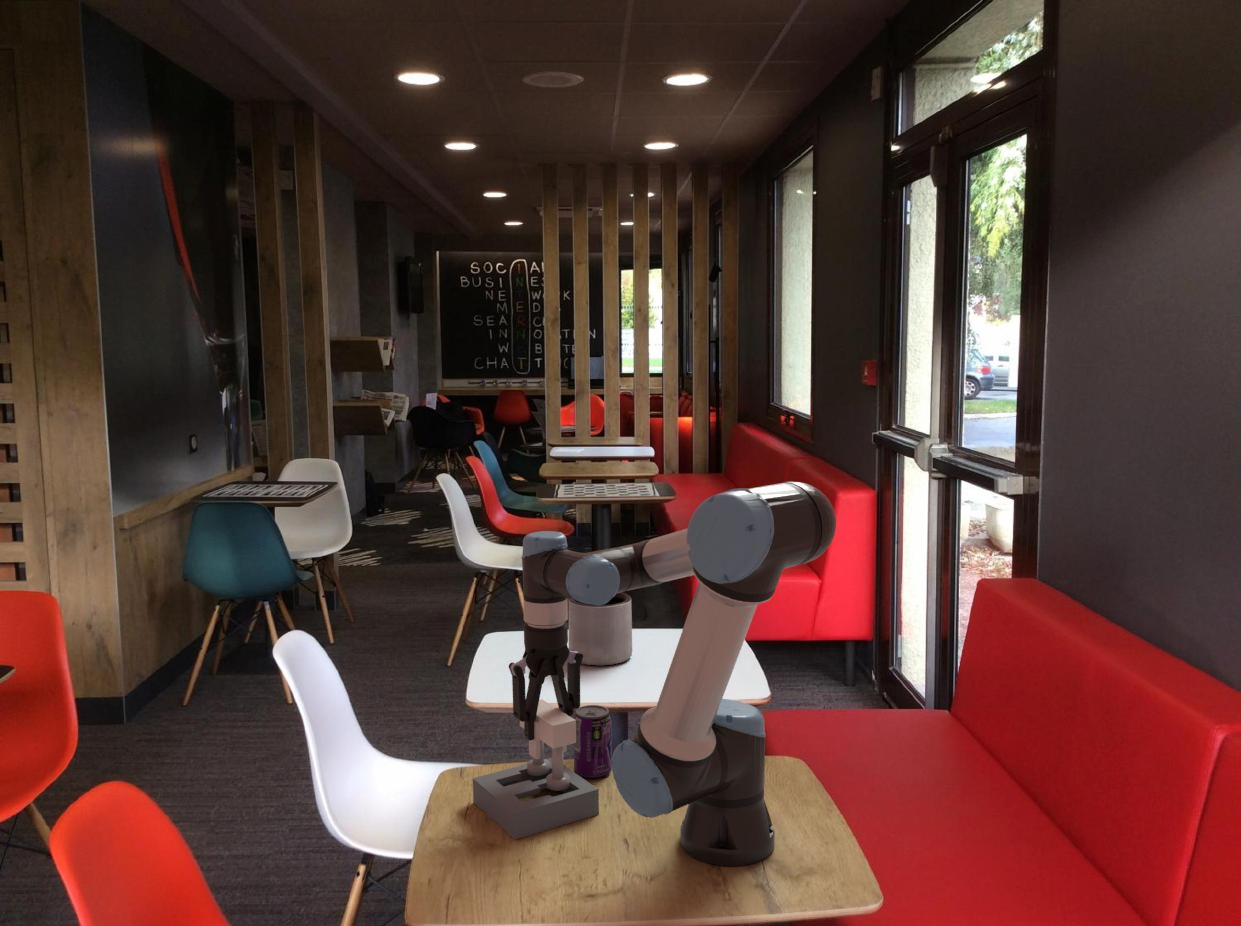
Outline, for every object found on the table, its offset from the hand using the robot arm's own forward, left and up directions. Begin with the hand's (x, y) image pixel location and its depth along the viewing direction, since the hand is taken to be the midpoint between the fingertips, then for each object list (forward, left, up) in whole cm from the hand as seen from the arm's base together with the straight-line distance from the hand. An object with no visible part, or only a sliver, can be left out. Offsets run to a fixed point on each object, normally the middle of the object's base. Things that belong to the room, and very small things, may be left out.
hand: (547, 752), depth 181 cm
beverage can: (+7, -13, -10) cm, 18 cm away
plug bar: (0, 0, -5) cm, 5 cm away
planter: (+64, -50, -10) cm, 82 cm away
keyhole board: (0, +3, -9) cm, 10 cm away
